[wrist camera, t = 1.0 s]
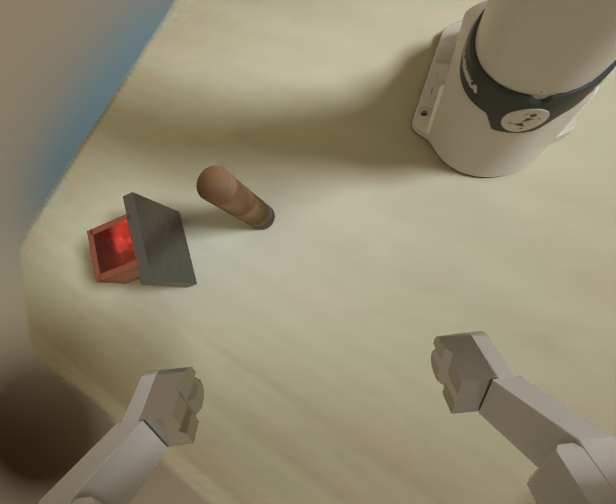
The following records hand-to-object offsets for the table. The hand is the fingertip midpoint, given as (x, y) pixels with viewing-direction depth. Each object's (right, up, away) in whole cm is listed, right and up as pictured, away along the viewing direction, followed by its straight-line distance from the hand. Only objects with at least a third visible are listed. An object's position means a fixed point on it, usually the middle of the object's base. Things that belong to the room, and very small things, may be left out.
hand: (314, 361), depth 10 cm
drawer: (-23, +3, +37) cm, 44 cm away
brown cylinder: (-7, +9, +35) cm, 36 cm away
